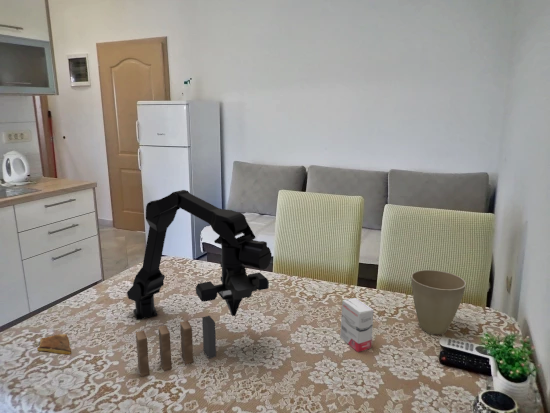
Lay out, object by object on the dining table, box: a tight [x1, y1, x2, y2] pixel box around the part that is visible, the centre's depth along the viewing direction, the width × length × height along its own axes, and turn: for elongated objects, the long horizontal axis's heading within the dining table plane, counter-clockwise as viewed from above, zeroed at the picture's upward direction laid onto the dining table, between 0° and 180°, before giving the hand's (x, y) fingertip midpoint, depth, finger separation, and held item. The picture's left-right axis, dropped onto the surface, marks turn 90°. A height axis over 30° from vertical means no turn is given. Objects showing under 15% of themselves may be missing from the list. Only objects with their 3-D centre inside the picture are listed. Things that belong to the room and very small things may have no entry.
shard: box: [37, 333, 72, 355], centre depth 109 cm, size 11×8×2 cm
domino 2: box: [158, 324, 173, 371], centre depth 102 cm, size 2×4×10 cm, turn 27°
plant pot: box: [410, 269, 467, 335], centre depth 120 cm, size 15×15×16 cm
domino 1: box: [135, 329, 150, 378], centre depth 99 cm, size 2×4×10 cm, turn 27°
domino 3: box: [179, 320, 194, 365], centre depth 104 cm, size 2×4×10 cm, turn 27°
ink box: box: [340, 297, 374, 353], centre depth 112 cm, size 8×5×12 cm, turn 26°
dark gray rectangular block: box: [201, 315, 217, 359], centre depth 107 cm, size 2×4×10 cm, turn 31°
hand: (233, 315), depth 109 cm, fingers closed
